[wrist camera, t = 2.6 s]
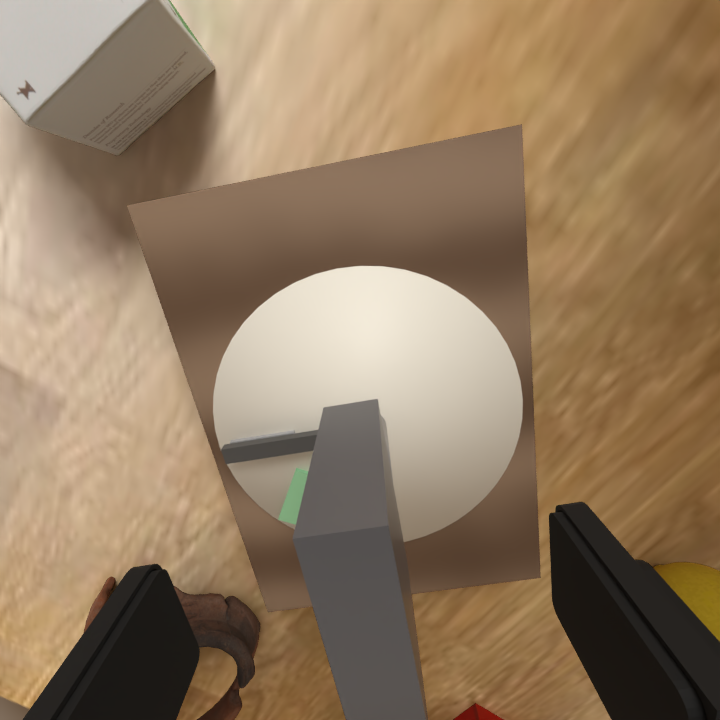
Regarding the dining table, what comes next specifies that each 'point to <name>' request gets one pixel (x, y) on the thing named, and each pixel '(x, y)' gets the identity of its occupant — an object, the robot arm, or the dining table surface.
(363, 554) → the grey block with rod
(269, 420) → the dial
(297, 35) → the dining table surface
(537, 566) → the board
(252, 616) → the broken clay pot
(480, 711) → the baking soda box
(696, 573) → the lemon
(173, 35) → the small box
